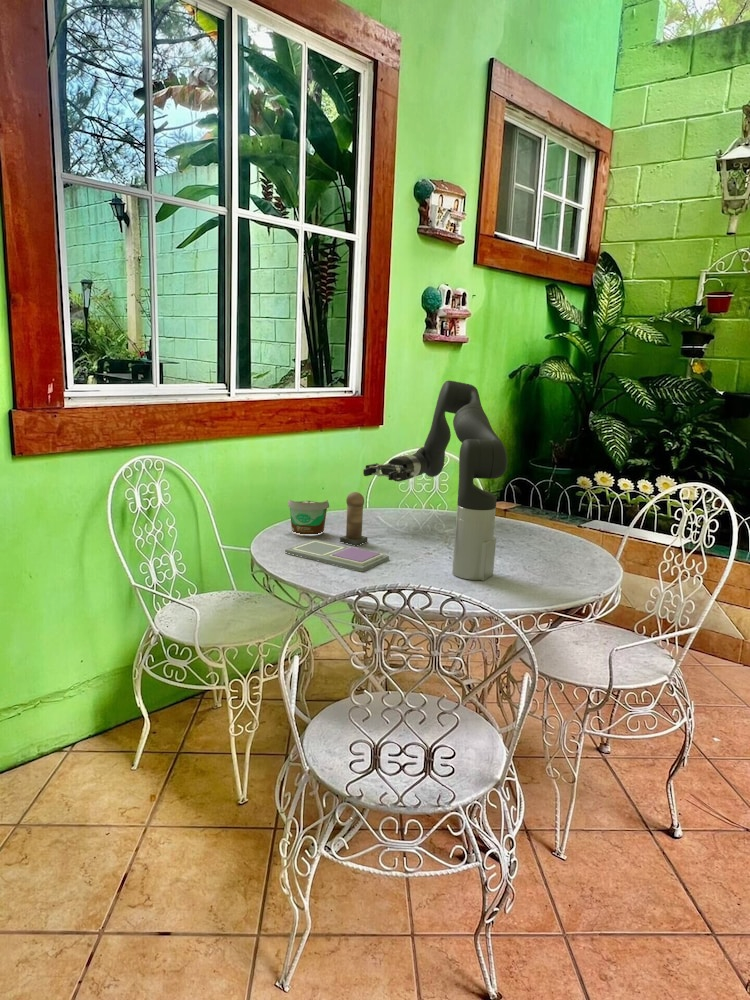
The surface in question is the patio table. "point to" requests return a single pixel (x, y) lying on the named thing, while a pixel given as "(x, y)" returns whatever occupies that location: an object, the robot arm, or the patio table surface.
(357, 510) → the stamp
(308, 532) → the food container
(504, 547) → the patio table surface
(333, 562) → the stamping board
